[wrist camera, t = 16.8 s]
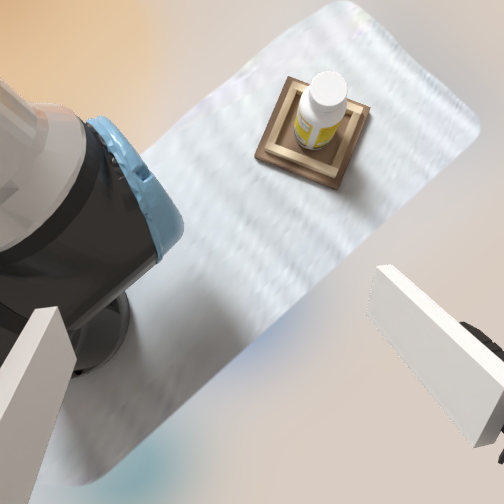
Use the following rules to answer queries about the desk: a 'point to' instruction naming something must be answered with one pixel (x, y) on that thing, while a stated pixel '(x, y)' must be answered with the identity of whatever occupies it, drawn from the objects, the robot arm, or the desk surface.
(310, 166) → the walnut board
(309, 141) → the supplement bottle
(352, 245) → the desk surface
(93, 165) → the robot arm
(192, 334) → the desk surface
